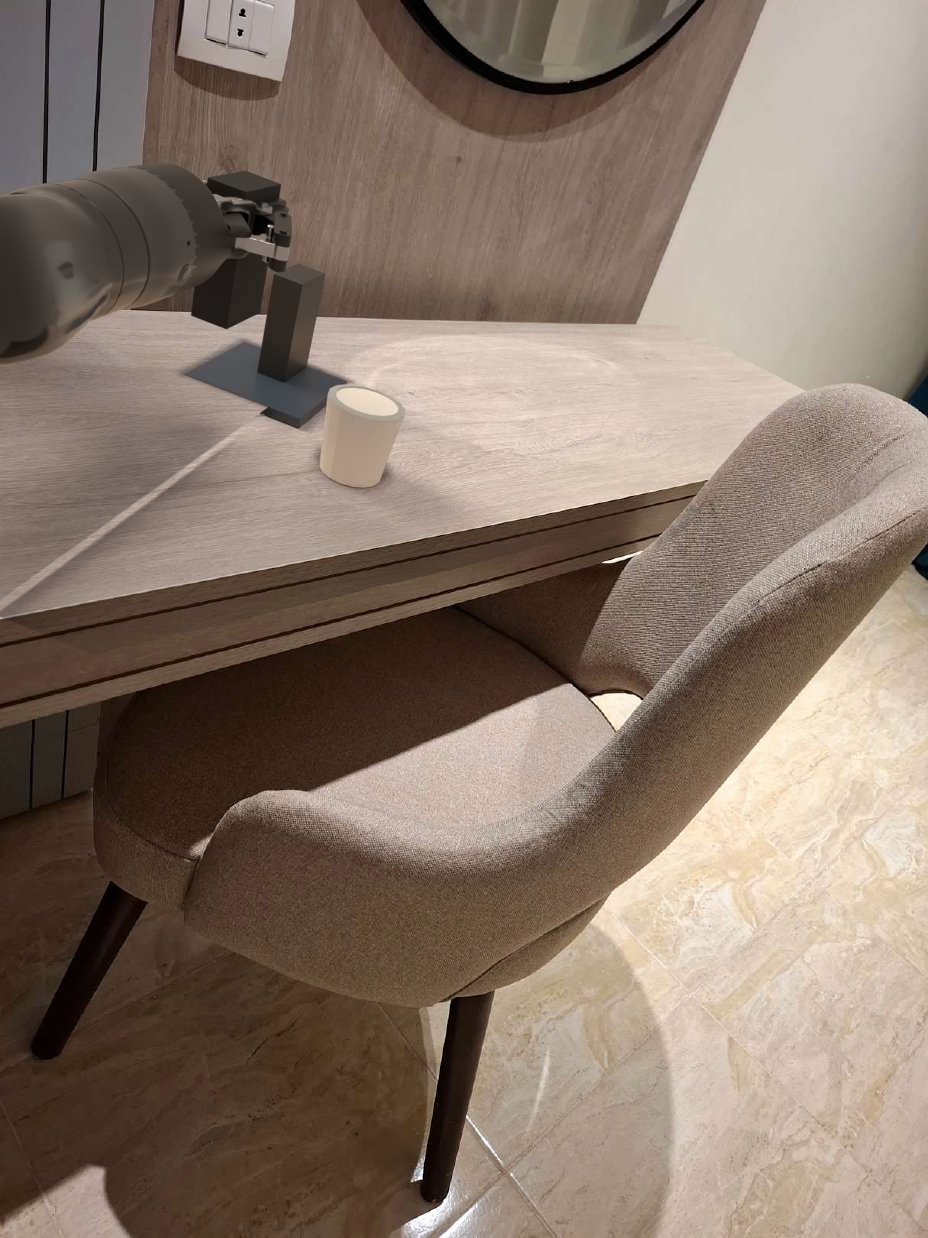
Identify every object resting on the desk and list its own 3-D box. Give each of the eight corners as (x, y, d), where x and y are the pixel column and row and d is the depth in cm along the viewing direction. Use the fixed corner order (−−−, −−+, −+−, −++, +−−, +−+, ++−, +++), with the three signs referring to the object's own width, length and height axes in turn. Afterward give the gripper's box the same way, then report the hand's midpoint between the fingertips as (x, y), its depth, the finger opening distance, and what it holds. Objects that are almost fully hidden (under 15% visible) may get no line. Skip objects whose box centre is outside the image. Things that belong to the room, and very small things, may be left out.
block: (190, 315, 69) (207, 176, 63) (226, 300, 74) (245, 170, 68) (226, 329, 68) (246, 191, 63) (260, 312, 74) (281, 183, 68)
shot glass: (401, 480, 83) (421, 411, 80) (354, 498, 78) (373, 425, 74) (345, 446, 86) (362, 378, 82) (296, 462, 80) (311, 389, 77)
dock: (182, 383, 87) (197, 268, 80) (242, 349, 97) (259, 246, 91) (298, 428, 86) (321, 315, 80) (345, 389, 97) (368, 288, 91)
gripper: (252, 212, 52) (354, 184, 67) (33, 129, 53) (180, 119, 67) (233, 336, 56) (333, 285, 71) (30, 257, 57) (169, 222, 72)
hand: (258, 204), depth 69 cm, fingers closed on block, 3 cm apart
